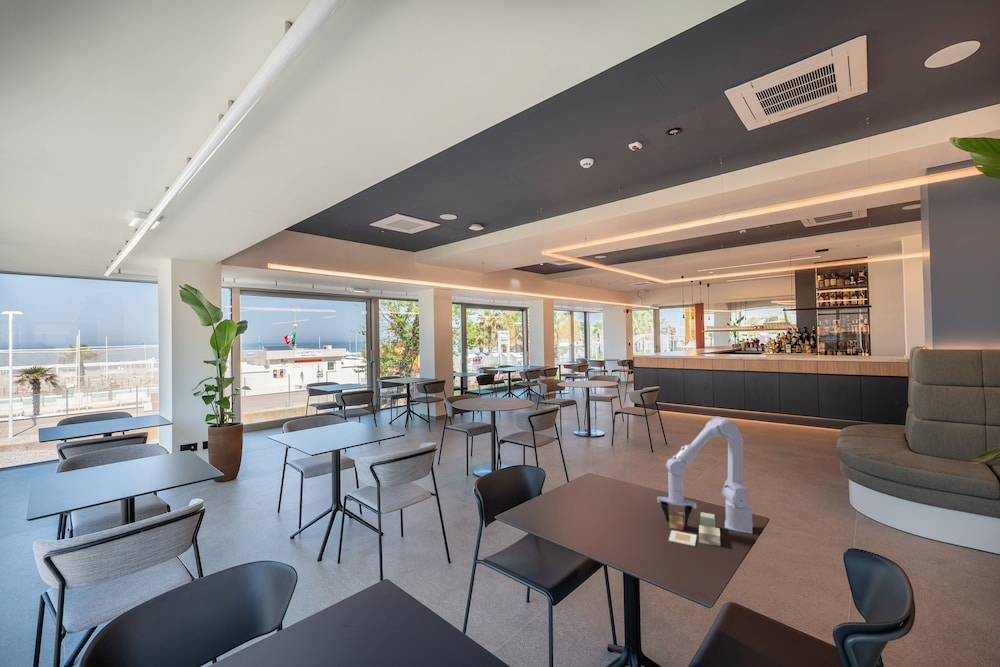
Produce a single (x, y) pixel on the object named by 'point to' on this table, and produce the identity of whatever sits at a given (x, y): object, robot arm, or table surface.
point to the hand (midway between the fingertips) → (676, 522)
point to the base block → (709, 535)
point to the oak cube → (676, 520)
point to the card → (682, 538)
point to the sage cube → (707, 519)
